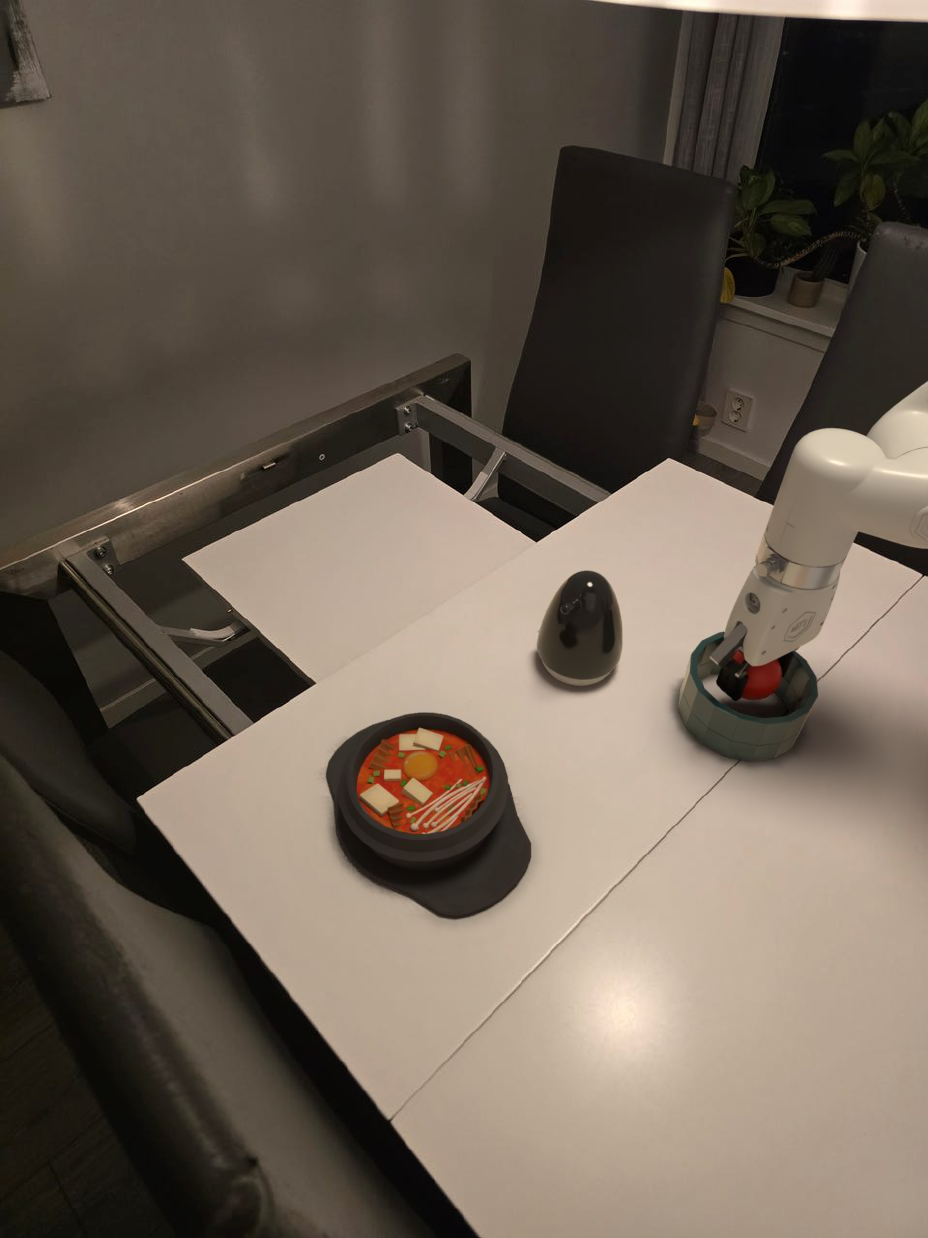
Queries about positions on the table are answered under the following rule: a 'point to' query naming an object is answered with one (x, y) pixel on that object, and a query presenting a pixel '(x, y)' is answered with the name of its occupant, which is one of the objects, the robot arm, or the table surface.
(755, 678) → the tomato
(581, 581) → the black egg shape
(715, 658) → the robot arm
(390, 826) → the casserole
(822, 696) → the table surface
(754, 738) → the green cylindrical ring
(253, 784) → the table surface
